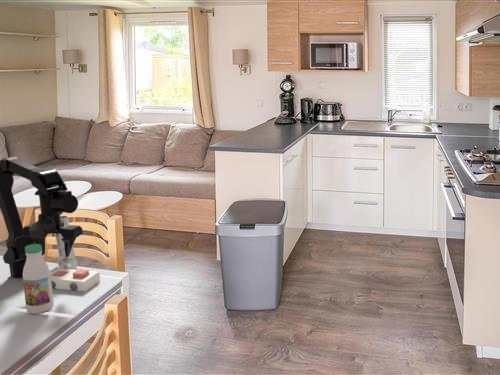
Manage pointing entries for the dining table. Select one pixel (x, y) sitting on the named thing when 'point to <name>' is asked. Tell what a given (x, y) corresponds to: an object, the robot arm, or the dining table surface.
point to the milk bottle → (37, 281)
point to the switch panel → (73, 280)
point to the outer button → (80, 273)
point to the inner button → (60, 273)
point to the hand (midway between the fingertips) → (55, 255)
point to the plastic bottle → (63, 260)
